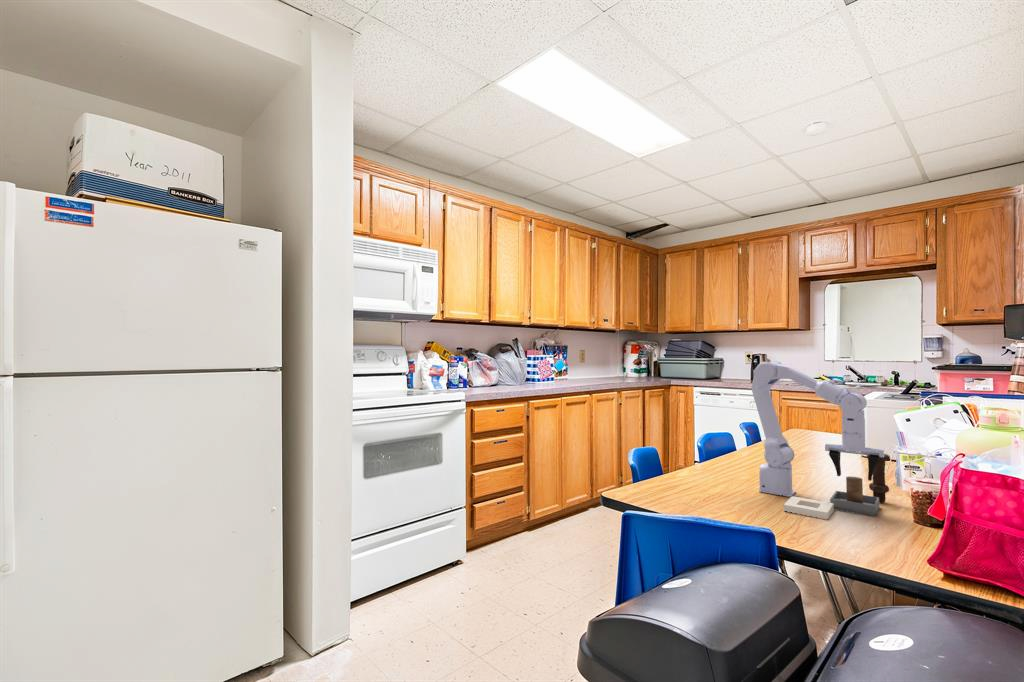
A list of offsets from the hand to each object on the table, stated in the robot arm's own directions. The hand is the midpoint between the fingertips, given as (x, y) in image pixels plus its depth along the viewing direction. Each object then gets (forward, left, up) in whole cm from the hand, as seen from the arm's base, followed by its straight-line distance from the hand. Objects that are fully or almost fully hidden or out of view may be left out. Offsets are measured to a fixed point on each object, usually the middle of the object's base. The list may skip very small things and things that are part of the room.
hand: (854, 477), depth 146 cm
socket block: (-10, -12, -9) cm, 18 cm away
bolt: (+5, +12, -9) cm, 16 cm away
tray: (0, 0, -9) cm, 9 cm away
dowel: (0, 0, -8) cm, 8 cm away
